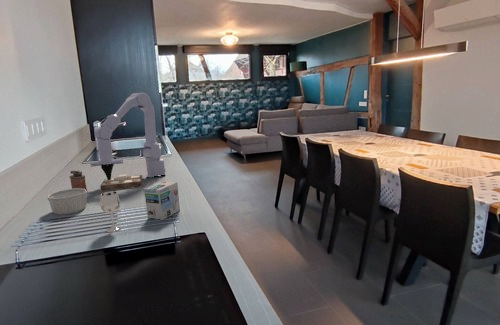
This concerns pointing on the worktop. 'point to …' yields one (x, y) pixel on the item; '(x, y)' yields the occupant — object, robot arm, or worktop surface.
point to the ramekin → (68, 201)
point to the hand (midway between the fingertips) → (109, 179)
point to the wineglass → (110, 206)
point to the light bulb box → (162, 200)
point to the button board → (121, 184)
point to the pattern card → (121, 182)
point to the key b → (122, 177)
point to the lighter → (77, 180)
